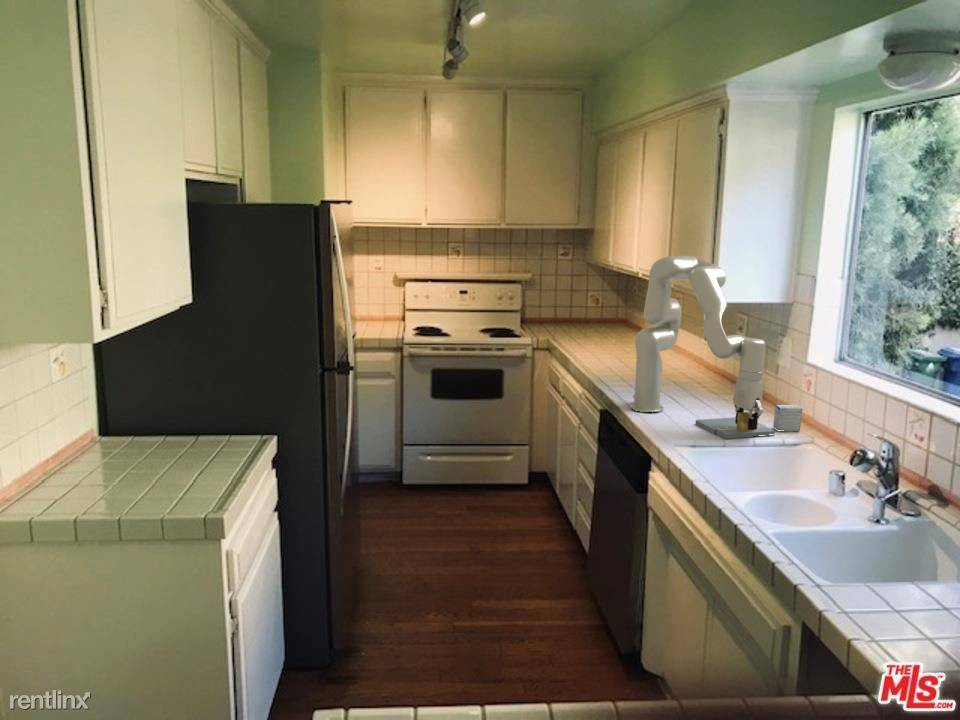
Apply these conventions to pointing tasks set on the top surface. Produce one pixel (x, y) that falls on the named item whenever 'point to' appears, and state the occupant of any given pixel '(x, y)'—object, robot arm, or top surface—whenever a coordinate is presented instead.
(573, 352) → the top surface
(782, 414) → the medicine box
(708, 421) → the board
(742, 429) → the grey-blue slab
